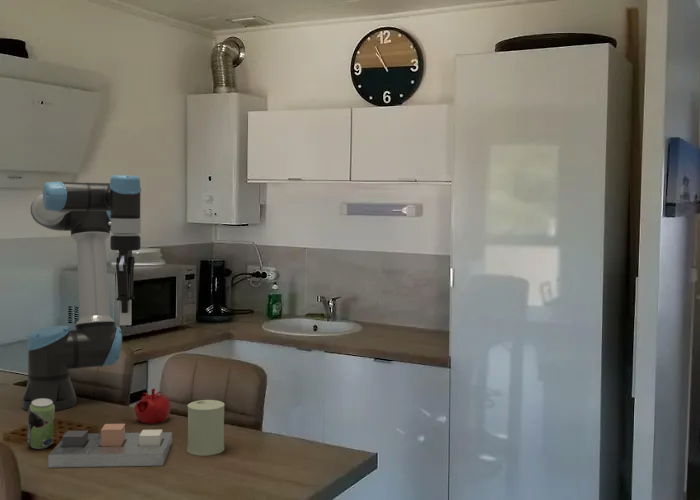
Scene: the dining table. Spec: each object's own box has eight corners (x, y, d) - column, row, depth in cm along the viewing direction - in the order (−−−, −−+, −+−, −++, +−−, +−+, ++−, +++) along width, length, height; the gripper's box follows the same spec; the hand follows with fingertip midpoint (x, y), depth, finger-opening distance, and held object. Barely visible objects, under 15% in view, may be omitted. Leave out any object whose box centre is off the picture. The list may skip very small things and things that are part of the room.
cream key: (142, 449, 189) (142, 429, 189) (162, 449, 190) (162, 429, 189) (139, 456, 184) (139, 435, 184) (159, 455, 185) (159, 435, 184)
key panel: (67, 445, 193) (67, 433, 192) (171, 443, 195) (171, 432, 195) (48, 467, 177) (48, 454, 177) (163, 465, 179) (163, 453, 179)
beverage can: (45, 440, 196) (45, 394, 195) (60, 447, 191) (60, 400, 190) (21, 446, 191) (21, 399, 190) (36, 453, 186) (36, 405, 186)
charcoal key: (67, 450, 187) (67, 430, 187) (87, 450, 188) (87, 430, 187) (62, 457, 182) (62, 436, 182) (83, 457, 183) (82, 436, 183)
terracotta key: (105, 443, 188) (105, 423, 188) (125, 443, 189) (125, 423, 188) (100, 450, 183) (100, 429, 183) (121, 449, 184) (121, 429, 183)
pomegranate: (169, 415, 222) (169, 383, 221) (172, 424, 212) (173, 391, 212) (133, 417, 218) (134, 384, 218) (135, 426, 209) (135, 393, 209)
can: (210, 441, 198) (211, 395, 197) (231, 450, 191) (232, 403, 190) (179, 449, 191) (180, 402, 190) (200, 458, 185) (200, 409, 184)
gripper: (115, 233, 204) (116, 320, 206) (105, 235, 192) (105, 329, 193) (144, 233, 205) (144, 320, 207) (135, 236, 192) (135, 329, 194)
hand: (125, 324), depth 200 cm, fingers closed
